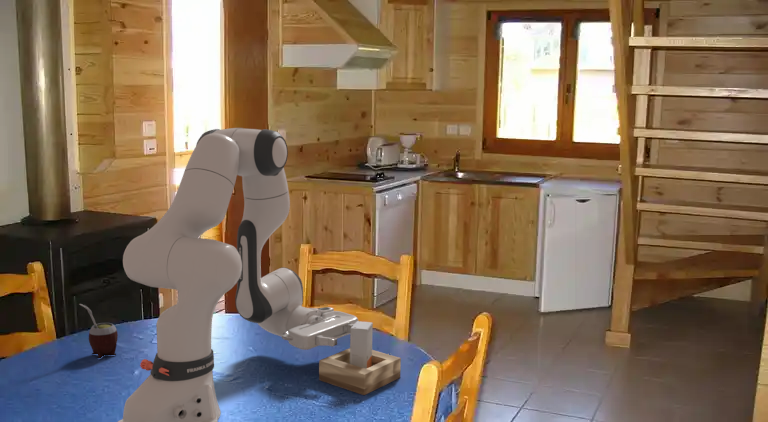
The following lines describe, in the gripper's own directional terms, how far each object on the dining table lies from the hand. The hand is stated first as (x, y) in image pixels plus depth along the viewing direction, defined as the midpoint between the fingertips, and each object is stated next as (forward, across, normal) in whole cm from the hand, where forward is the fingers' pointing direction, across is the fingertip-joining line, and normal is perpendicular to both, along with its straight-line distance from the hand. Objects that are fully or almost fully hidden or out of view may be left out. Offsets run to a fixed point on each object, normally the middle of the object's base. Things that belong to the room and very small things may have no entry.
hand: (348, 337), depth 185 cm
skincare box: (+4, 0, +8) cm, 9 cm away
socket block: (+4, 0, +10) cm, 10 cm away
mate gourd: (-57, -31, +10) cm, 66 cm away
